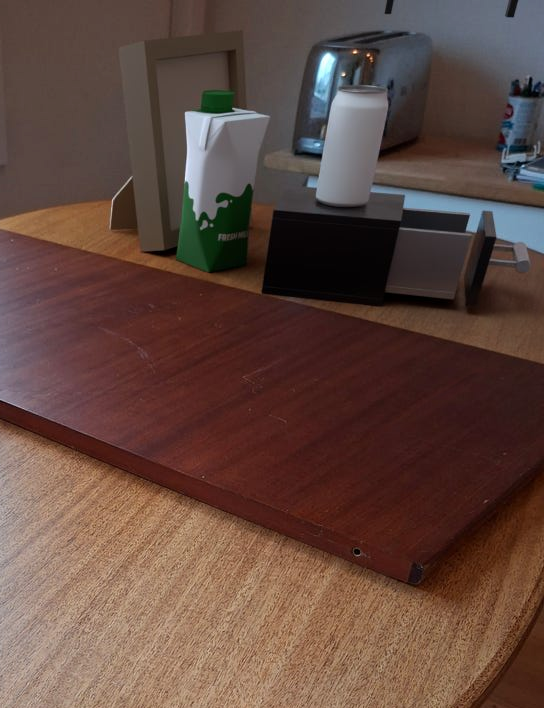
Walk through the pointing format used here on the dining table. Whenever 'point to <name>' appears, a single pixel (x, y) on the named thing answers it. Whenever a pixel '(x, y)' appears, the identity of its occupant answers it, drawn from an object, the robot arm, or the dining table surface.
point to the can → (352, 145)
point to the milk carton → (219, 182)
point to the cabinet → (332, 247)
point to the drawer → (446, 254)
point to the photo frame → (168, 124)
